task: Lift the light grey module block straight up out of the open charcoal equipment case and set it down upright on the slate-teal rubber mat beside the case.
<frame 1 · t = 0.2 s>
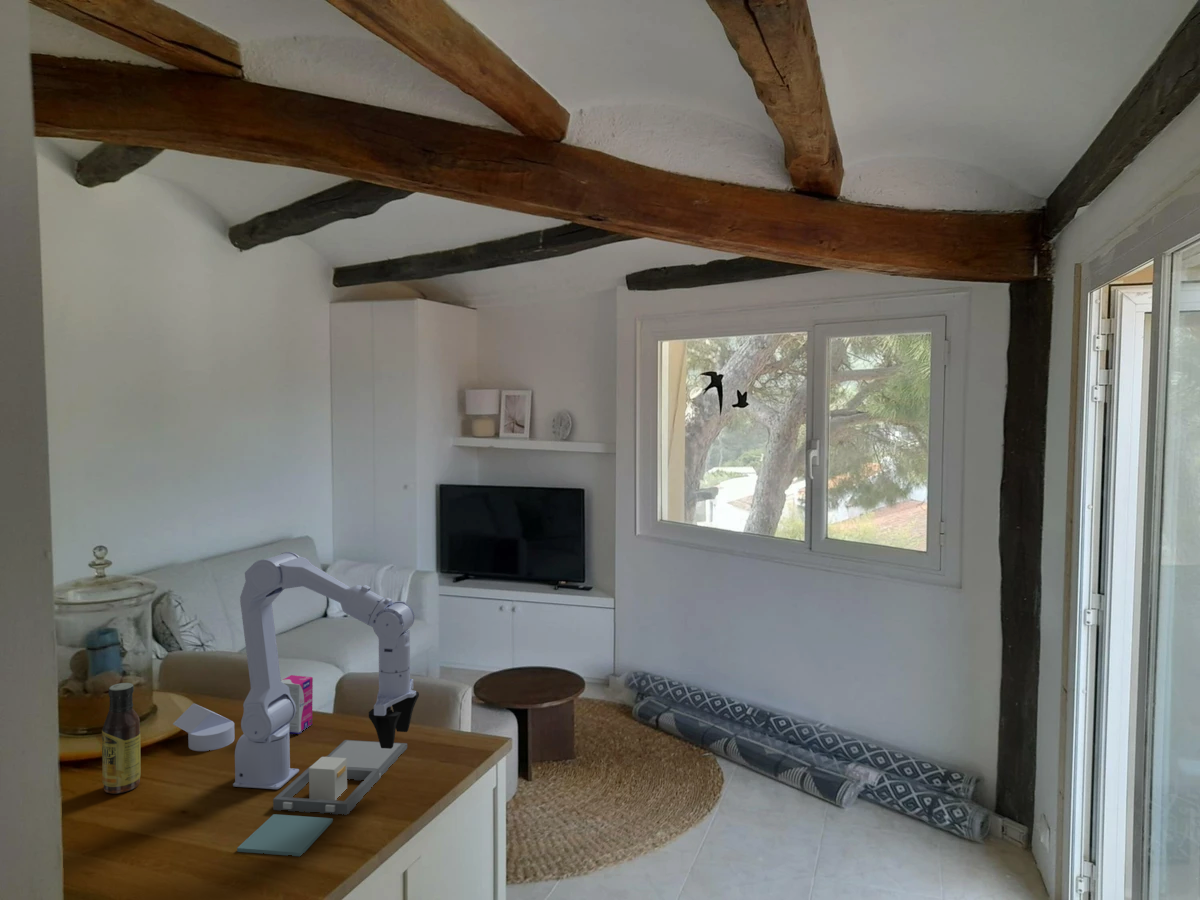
hand: (394, 739, 149), 10 cm above the table, tool pointing down, fingers open, 7 cm apart
wedge on round base: (207, 740, 173), on the table
equipment case: (328, 793, 148), on the table
sauce bottle: (122, 789, 150), on the table
mat: (286, 836, 133), on the table
module: (328, 794, 148), resting in equipment case
supplement box: (295, 730, 179), on the table
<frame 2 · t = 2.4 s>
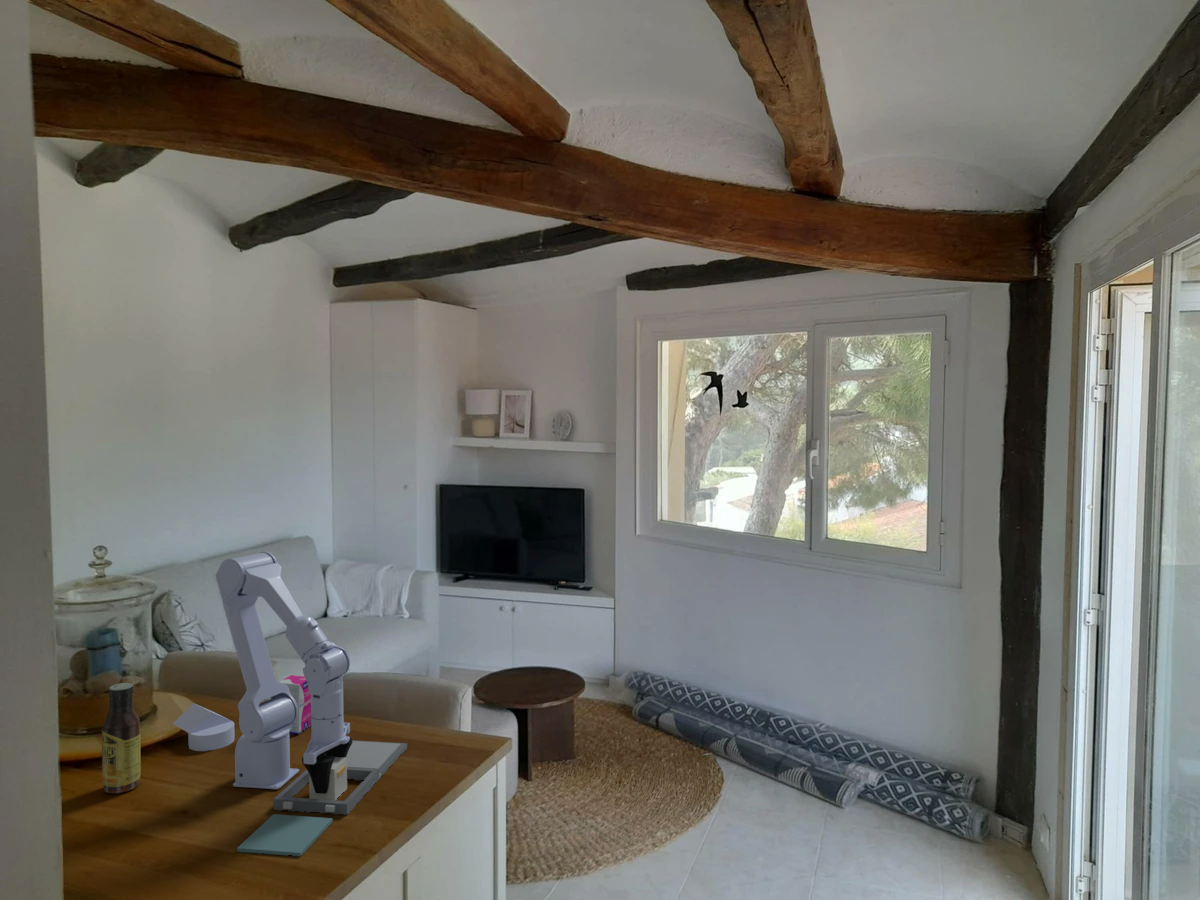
hand: (328, 785, 148), 2 cm above the table, tool pointing down, fingers closed on module, 5 cm apart
module: (328, 794, 148), resting in equipment case, touching gripper
everything else where it was.
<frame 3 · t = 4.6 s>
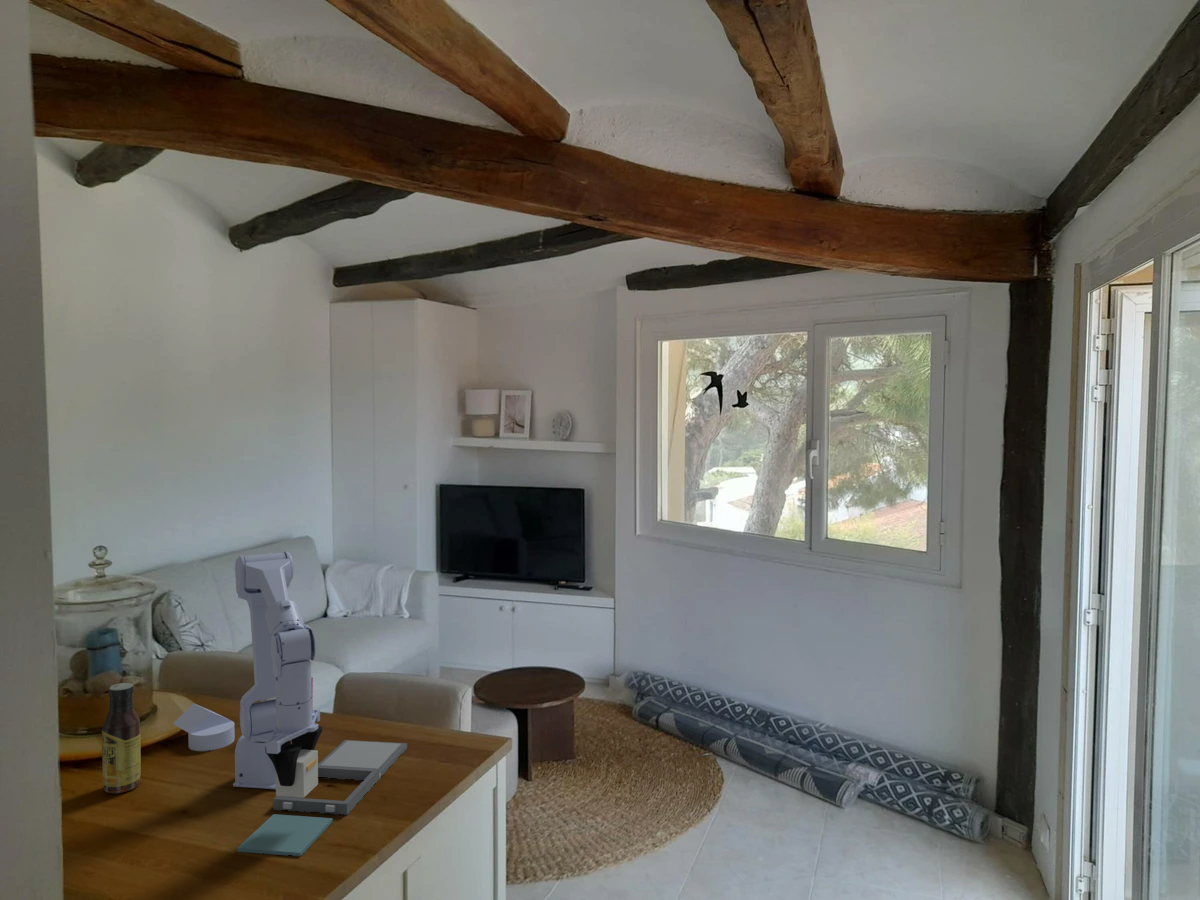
hand: (295, 777, 136), 9 cm above the table, tool pointing down, fingers closed on module, 5 cm apart
module: (297, 789, 136), point 7 cm above the table, touching gripper
everything else where it was.
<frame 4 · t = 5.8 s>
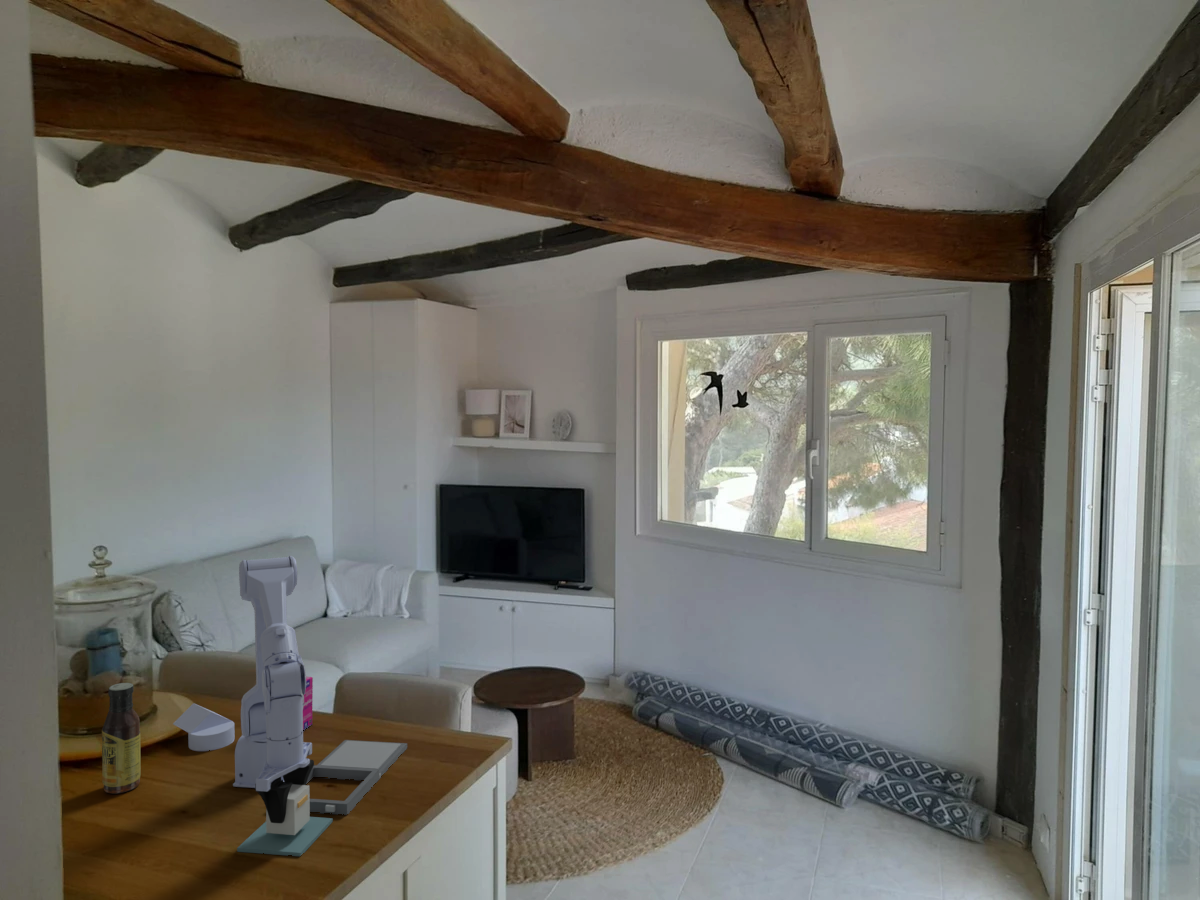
hand: (286, 813, 133), 4 cm above the table, tool pointing down, fingers closed on module, 5 cm apart
module: (288, 826, 133), point 2 cm above the table, touching gripper
everything else where it was.
when the fingers open (3 cm above the table, at t = 6.8 s): module stays where it is, resting on mat.
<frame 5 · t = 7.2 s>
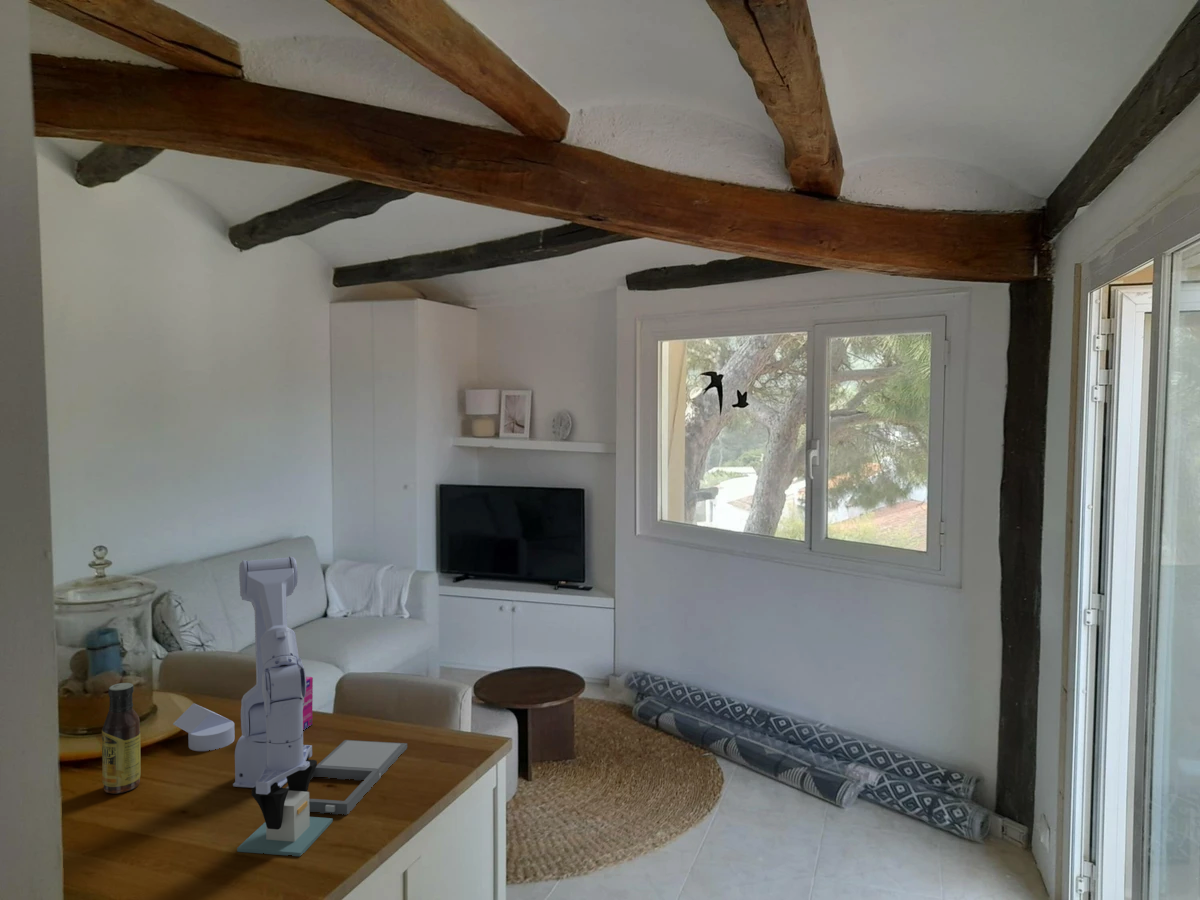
hand: (286, 816, 133), 3 cm above the table, tool pointing down, fingers open, 7 cm apart
module: (288, 832, 133), point 1 cm above the table, touching mat
everything else where it was.
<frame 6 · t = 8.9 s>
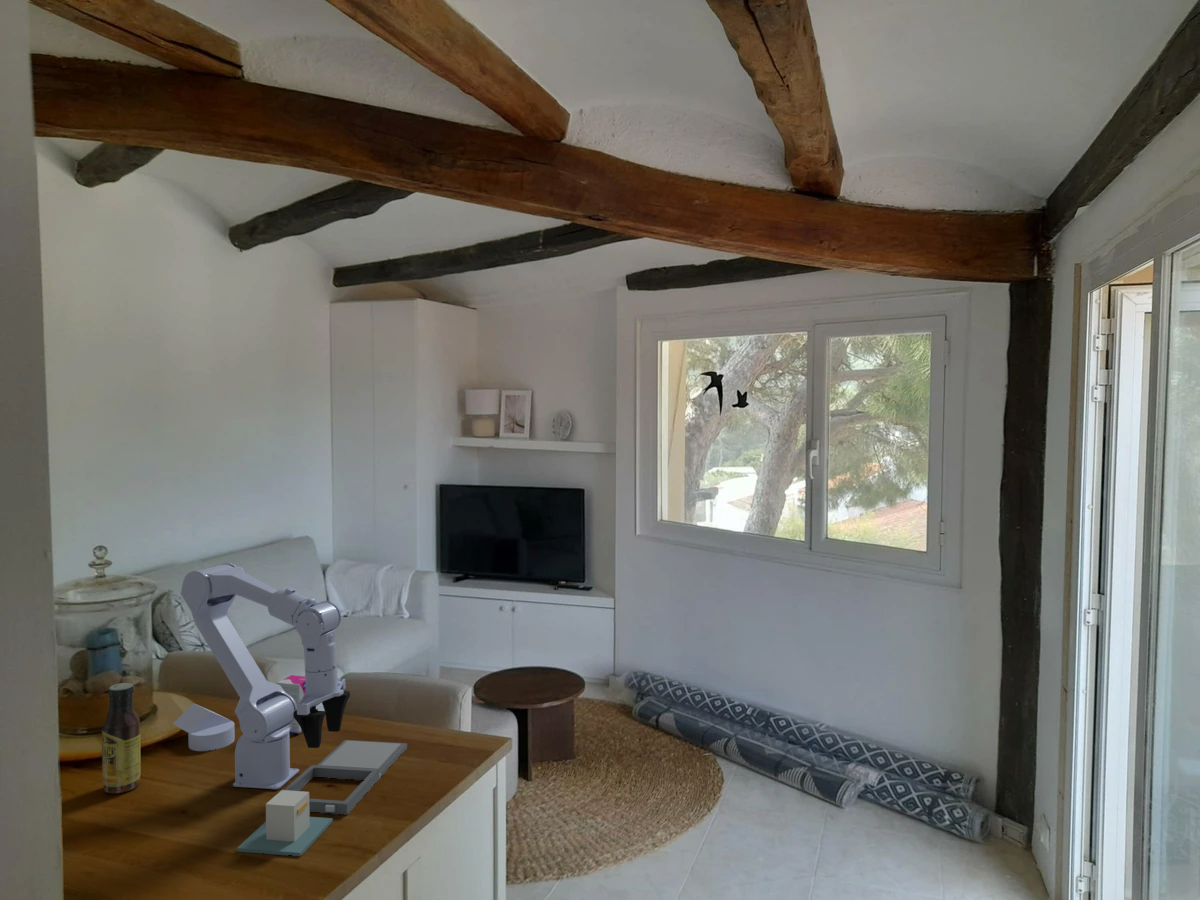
hand: (324, 738, 150), 10 cm above the table, tool pointing down, fingers open, 7 cm apart
nothing on the table moved.
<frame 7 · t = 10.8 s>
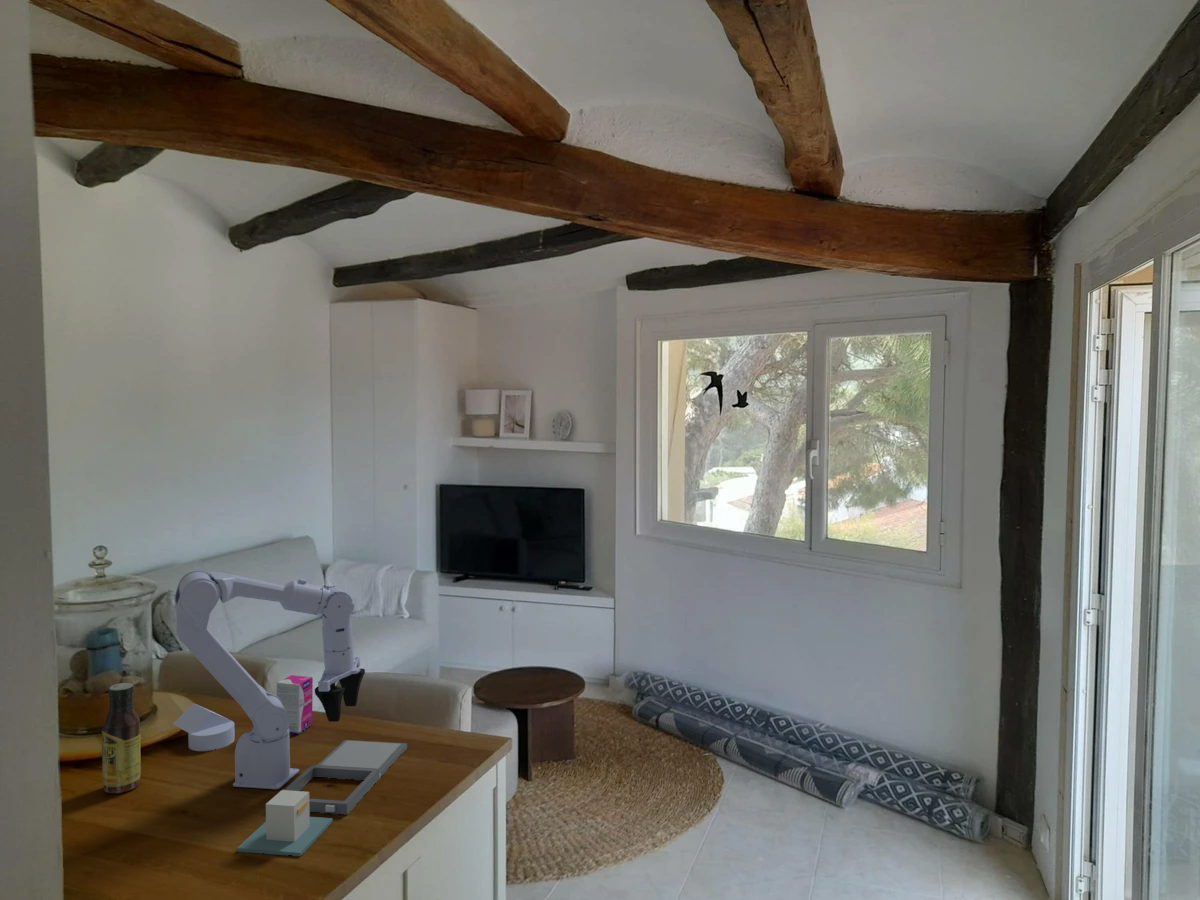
hand: (342, 713, 160), 10 cm above the table, tool pointing down, fingers open, 7 cm apart
nothing on the table moved.
at the end: module 0.3 cm off-centre on the mat, point 0.6 cm above the mat's base; module tilted 0°; the gripper is holding nothing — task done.
